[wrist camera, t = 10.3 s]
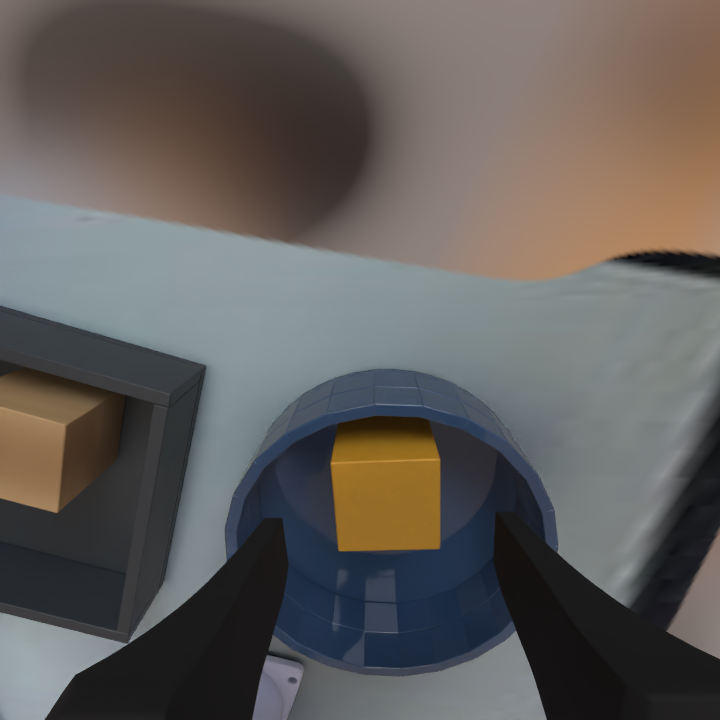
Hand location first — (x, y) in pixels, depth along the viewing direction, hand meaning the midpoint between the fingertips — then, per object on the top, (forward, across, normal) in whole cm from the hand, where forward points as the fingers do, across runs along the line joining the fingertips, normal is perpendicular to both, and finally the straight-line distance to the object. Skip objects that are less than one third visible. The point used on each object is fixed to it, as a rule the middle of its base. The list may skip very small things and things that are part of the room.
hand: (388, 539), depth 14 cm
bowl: (+6, 0, +3) cm, 7 cm away
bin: (+6, +15, 0) cm, 16 cm away
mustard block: (+6, 0, 0) cm, 6 cm away
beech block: (+6, +14, -3) cm, 15 cm away
